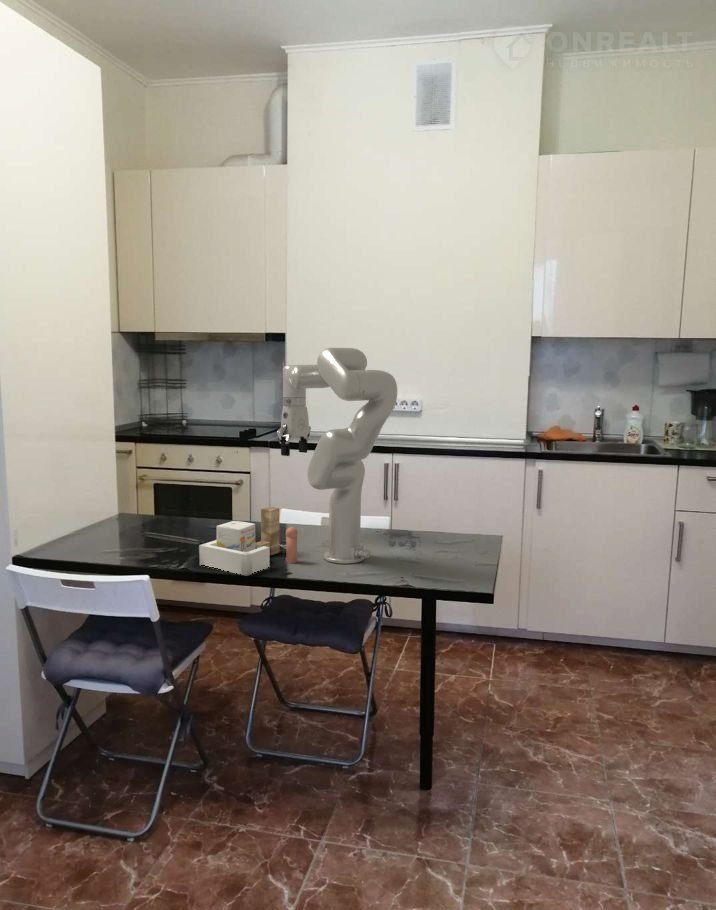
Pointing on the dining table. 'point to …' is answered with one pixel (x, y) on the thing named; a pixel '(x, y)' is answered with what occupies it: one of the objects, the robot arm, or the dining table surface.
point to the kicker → (269, 529)
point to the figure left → (291, 545)
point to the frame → (234, 558)
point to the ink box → (236, 536)
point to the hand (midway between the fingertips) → (294, 453)
